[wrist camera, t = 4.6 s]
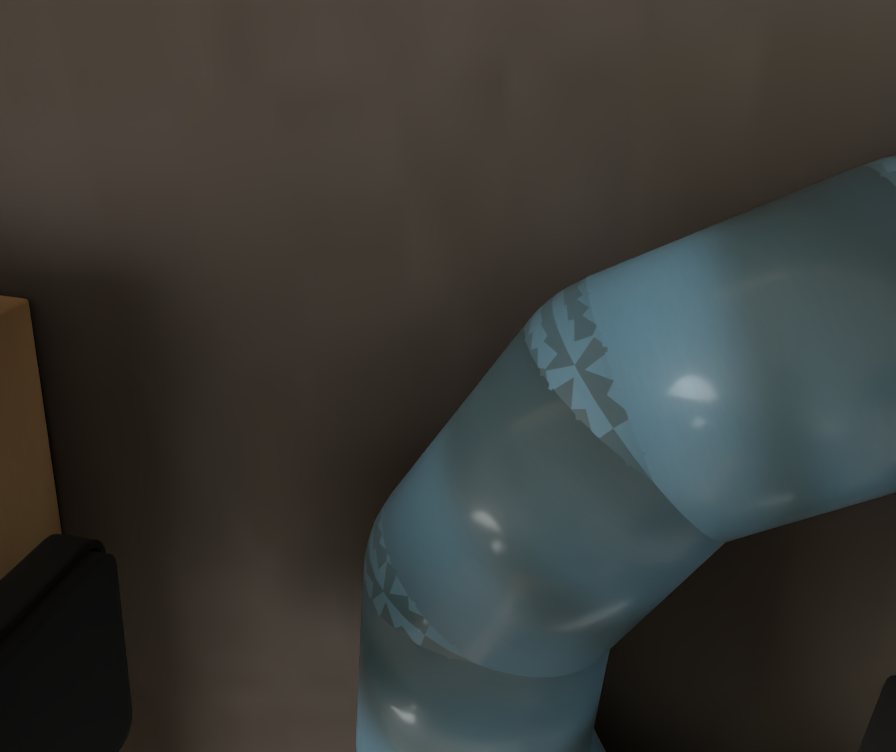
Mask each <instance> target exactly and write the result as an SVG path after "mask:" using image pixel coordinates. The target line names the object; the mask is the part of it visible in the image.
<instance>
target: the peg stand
mask: <svg viewBox="0 0 896 752" xmlns="http://www.w3.org/2000/svg"><path fill="white" fill-rule="evenodd" d="M53 534H62V531H61V524H60V517H59V510H58V503H57V496H56V489H55V482H54V475H53V468H52V461H51V454H50V447H49V440H48V433H47V426H46V419H45V412H44V405H43V398H42V391H41V384H40V377H39V370H38V363H37V356H36V349H35V342H34V335H33V328H32V321H31V314H30V307H29V301H28V300H27V299H25V298H17V297H9V296H1V295H0V580H1V579H2V578H3V577H4V576H5V575H6V574H7V573H8V572H10V571H11V570H12V569H13V568H14V567H15V566H16V565H17V564H18V563H19V562H20V561H21V560H23V559H24V558H25V557H26V556H27V555H28V554H29V553H30V552H31V551H32V550H33V549H34V548H35V547H37V546H38V545H39V544H40V543H41V542H42V541H43V540H44V539H46V538H47V537H49V536H50V535H53Z"/></svg>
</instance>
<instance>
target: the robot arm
mask: <svg viewBox="0 0 896 752" xmlns="http://www.w3.org/2000/svg"><path fill="white" fill-rule="evenodd" d="M131 721H132V705H131V696H130V686H129V677H128V667H127V658H126V648H125V639H124V629H123V620H122V610H121V601H120V591H119V582H118V572H117V564H116V559H115V558H114V556H113V555H111V554H108V553H106V550H105V547H104V545H103V544H102V542H101V541H98V540H95V539H88V538H82V537H75V536H68V535H62V534H53V535H50V536H49V537H47V538H46V539H44V540H43V541H42V542H41V543H40V544H39V545H38V546H37V547H35V548H34V549H33V550H32V551H31V552H30V553H29V554H28V555H27V556H26V557H25V558H24V559H23V560H21V561H20V562H19V563H18V564H17V565H16V566H15V567H14V568H13V569H12V570H11V571H10V572H8V573H7V574H6V575H5V576H4V577H3V578H2V579H1V580H0V752H119V750H120V749H121V747H122V746H123V744H124V742H125V740H126V738H127V735H128V733H129V730H130V726H131ZM858 752H896V675H894V676H890V677H889V678H887V680H886V682H885V684H884V686H883V688H882V691H881V694H880V696H879V699H878V701H877V704H876V707H875V709H874V712H873V715H872V717H871V720H870V722H869V725H868V728H867V730H866V733H865V735H864V738H863V741H862V743H861V746H860V748H859V751H858Z"/></svg>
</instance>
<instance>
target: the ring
mask: <svg viewBox="0 0 896 752" xmlns="http://www.w3.org/2000/svg"><path fill="white" fill-rule="evenodd" d="M892 493H896V155H893V156H889V157H885V158H881V159H878V160H876V161H873V162H870V163H867V164H864V165H860V166H857V167H854V168H852V169H850V170H847V171H845V172H842V173H840V174H837V175H835V176H832V177H830V178H828V179H825V180H823V181H820V182H818V183H815V184H813V185H810V186H808V187H806V188H803V189H801V190H798V191H796V192H793V193H791V194H788V195H786V196H783V197H781V198H779V199H776V200H774V201H771V202H769V203H766V204H764V205H761V206H759V207H757V208H754V209H752V210H749V211H747V212H744V213H742V214H739V215H737V216H735V217H732V218H730V219H727V220H725V221H722V222H720V223H717V224H715V225H713V226H710V227H708V228H705V229H703V230H700V231H698V232H695V233H693V234H691V235H688V236H686V237H683V238H681V239H678V240H676V241H673V242H671V243H669V244H666V245H664V246H661V247H659V248H656V249H654V250H651V251H649V252H647V253H644V254H642V255H639V256H637V257H634V258H632V259H629V260H627V261H625V262H622V263H620V264H617V265H615V266H612V267H610V268H607V269H605V270H603V271H600V272H598V273H595V274H593V275H590V276H588V277H586V278H584V279H582V280H580V281H579V282H577V283H574V284H572V285H570V286H568V287H567V288H565V289H563V290H561V291H560V292H559V293H557V294H556V295H555V296H554V297H552V298H551V299H549V300H548V301H547V302H546V303H545V304H544V305H543V306H541V307H540V308H539V309H538V310H537V311H536V312H535V314H534V315H533V316H532V317H531V318H530V319H529V320H528V321H527V323H526V324H525V325H524V326H523V327H522V329H521V330H520V331H519V333H518V334H517V335H516V336H515V338H514V339H513V340H512V341H511V343H510V344H509V345H508V346H507V348H506V349H505V350H504V352H503V353H502V354H501V355H500V357H499V358H498V359H497V360H496V362H495V363H494V364H493V365H492V367H491V368H490V369H489V370H488V372H487V373H486V374H485V376H484V377H483V378H482V379H481V381H480V382H479V383H478V384H477V386H476V387H475V388H474V389H473V391H472V392H471V393H470V395H469V396H468V397H467V398H466V400H465V401H464V402H463V403H462V405H461V406H460V407H459V408H458V410H457V411H456V412H455V413H454V415H453V416H452V417H451V419H450V420H449V421H448V422H447V424H446V425H445V426H444V427H443V429H442V430H441V431H440V432H439V434H438V435H437V436H436V438H435V439H434V440H433V441H432V443H431V444H430V445H429V446H428V448H427V449H426V450H425V451H424V453H423V454H422V455H421V456H420V458H419V459H418V460H417V462H416V463H415V464H414V465H413V467H412V468H411V469H410V470H409V472H408V473H407V474H406V475H405V477H404V478H403V479H402V481H401V482H400V483H399V484H398V486H397V487H396V488H395V489H394V491H393V492H392V493H391V494H390V496H389V498H388V499H387V501H386V502H385V504H384V505H383V507H382V509H381V510H380V512H379V514H378V515H377V518H376V520H375V521H374V524H373V527H372V530H371V532H370V535H369V539H368V543H367V547H366V551H365V555H364V565H363V583H362V608H361V633H360V657H359V682H358V707H357V732H356V750H357V752H606V751H605V749H604V747H603V745H602V743H601V741H600V740H599V738H598V736H597V734H596V732H595V730H594V725H595V720H596V715H597V710H598V705H599V700H600V695H601V690H602V685H603V680H604V675H605V670H606V666H607V661H608V656H609V651H610V649H611V648H612V647H613V646H614V645H615V644H616V643H617V642H618V641H619V640H621V639H622V638H623V637H624V636H625V635H626V634H627V633H628V632H629V631H630V630H631V629H632V628H634V627H635V626H636V625H637V624H638V623H639V622H640V621H641V620H642V619H643V618H644V617H645V616H646V615H648V614H649V613H650V612H651V611H652V610H653V609H654V608H655V607H656V606H657V605H658V604H659V603H661V602H662V601H663V600H664V599H665V598H666V597H667V596H668V595H669V594H670V593H671V592H672V591H673V590H675V589H676V588H677V587H678V586H679V585H680V584H681V583H682V582H683V581H684V580H685V579H686V578H688V577H689V576H690V575H691V574H692V573H693V572H694V571H695V570H696V569H697V568H698V567H699V566H700V565H702V564H703V563H704V562H705V561H706V560H707V559H708V558H709V557H710V556H711V555H712V554H713V553H715V552H716V551H717V550H718V549H719V548H720V547H721V546H722V545H723V544H724V543H725V542H728V541H731V540H735V539H738V538H741V537H745V536H748V535H752V534H755V533H759V532H762V531H765V530H769V529H772V528H776V527H779V526H783V525H786V524H789V523H793V522H796V521H800V520H803V519H807V518H810V517H813V516H817V515H820V514H824V513H827V512H831V511H834V510H837V509H841V508H844V507H848V506H851V505H855V504H858V503H861V502H865V501H868V500H872V499H875V498H879V497H882V496H885V495H889V494H892Z"/></svg>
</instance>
